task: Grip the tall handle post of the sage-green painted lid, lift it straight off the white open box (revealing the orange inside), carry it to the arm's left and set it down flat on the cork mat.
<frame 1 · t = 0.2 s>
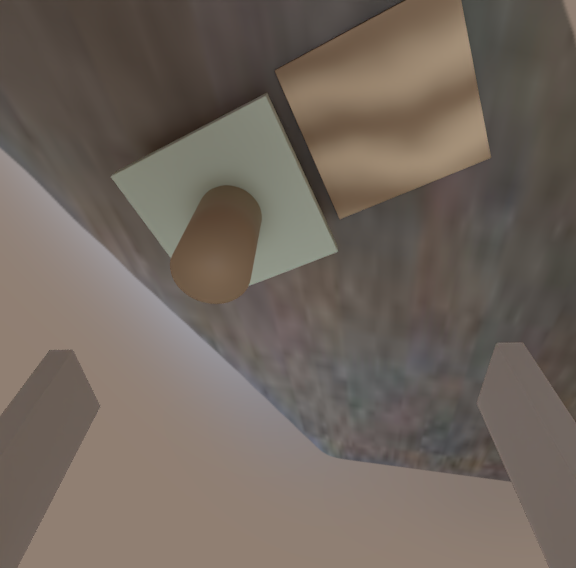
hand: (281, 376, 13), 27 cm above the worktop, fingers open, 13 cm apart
lid: (232, 209, 32), point 6 cm above the worktop, touching white open box
mat: (387, 114, 33), on the worktop
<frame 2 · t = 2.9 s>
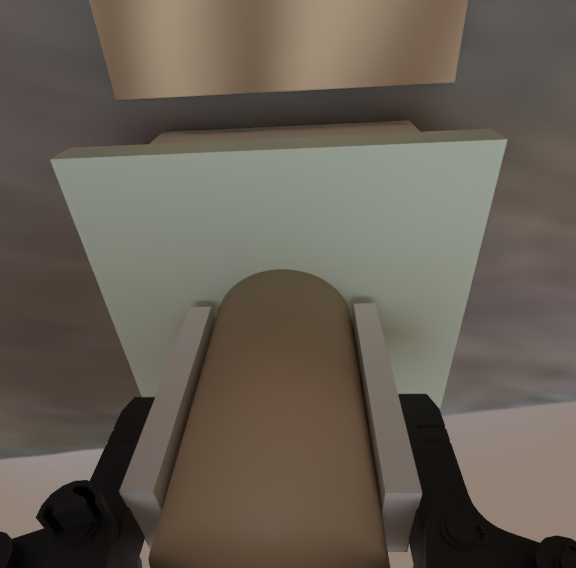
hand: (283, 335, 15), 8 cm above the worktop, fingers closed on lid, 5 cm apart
white open box: (289, 236, 21), on the worktop
lid: (285, 306, 16), point 6 cm above the worktop, touching white open box, gripper
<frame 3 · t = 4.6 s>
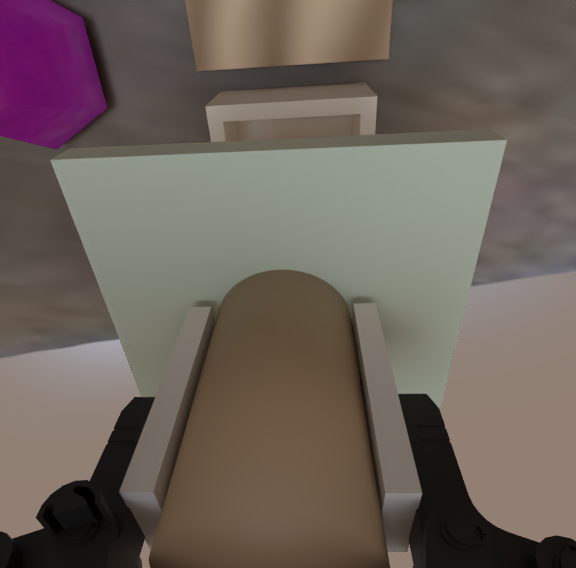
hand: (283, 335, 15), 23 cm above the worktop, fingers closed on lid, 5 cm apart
white open box: (296, 158, 34), on the worktop
lid: (285, 306, 16), point 21 cm above the worktop, touching gripper
magenta low-poly plum: (41, 65, 30), on the worktop
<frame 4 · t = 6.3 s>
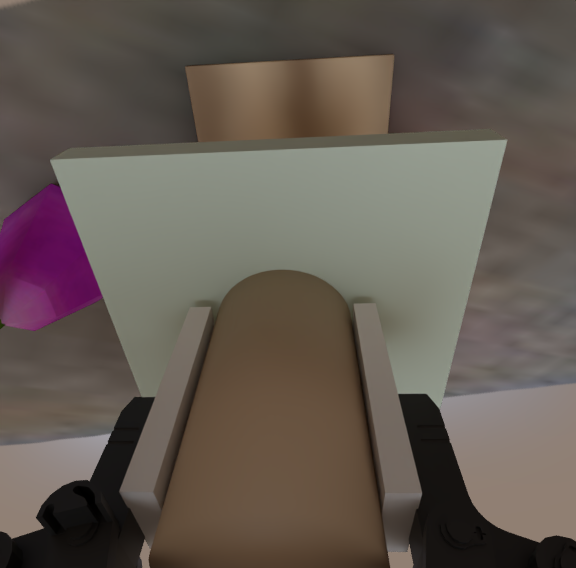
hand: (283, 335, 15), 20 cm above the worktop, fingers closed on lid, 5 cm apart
lid: (285, 306, 16), point 18 cm above the worktop, touching gripper
magenta low-poly plum: (84, 237, 36), on the worktop
mat: (293, 162, 31), on the worktop
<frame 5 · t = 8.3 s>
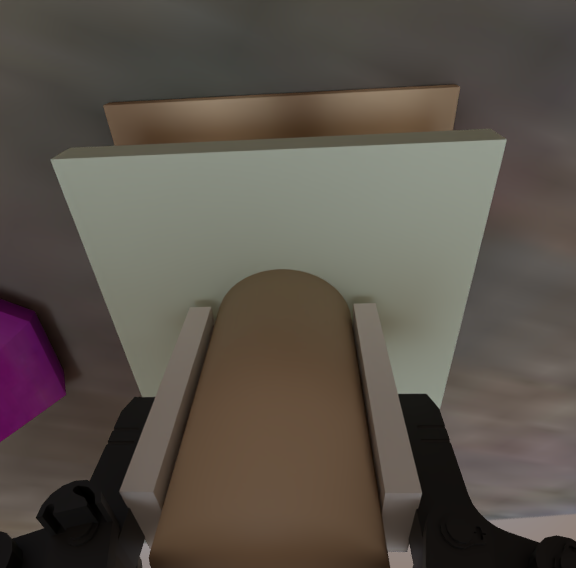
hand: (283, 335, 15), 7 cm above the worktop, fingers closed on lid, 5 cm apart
lid: (285, 305, 16), point 5 cm above the worktop, touching gripper
mat: (287, 246, 20), on the worktop
when the fingers open (4 cm above the worktop, at t = 9.7 s): lid drops 2 cm, resting on mat.
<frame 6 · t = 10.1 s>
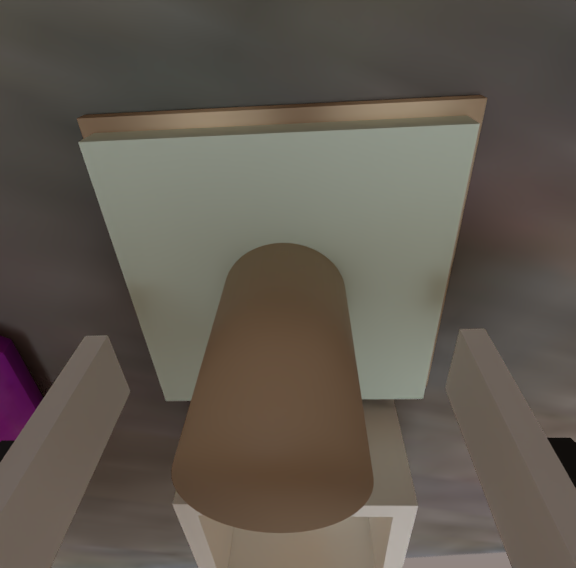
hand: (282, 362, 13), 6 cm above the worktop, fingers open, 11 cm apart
white open box: (298, 454, 26), on the worktop
lid: (285, 279, 18), point 1 cm above the worktop, touching mat
mat: (287, 272, 18), on the worktop
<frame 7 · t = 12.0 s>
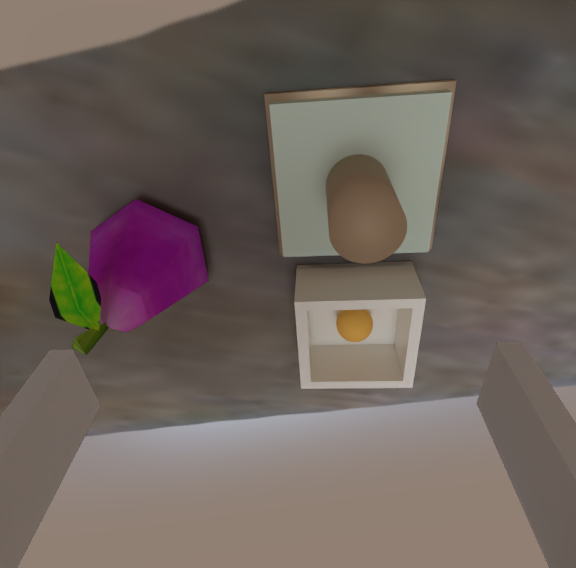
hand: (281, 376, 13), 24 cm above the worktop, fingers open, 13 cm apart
orange: (354, 323, 40), point 3 cm above the worktop, touching white open box
white open box: (352, 307, 42), on the worktop
lid: (355, 180, 33), point 1 cm above the worktop, touching mat
magenta low-poly plum: (157, 246, 39), on the worktop
mat: (355, 177, 34), on the worktop
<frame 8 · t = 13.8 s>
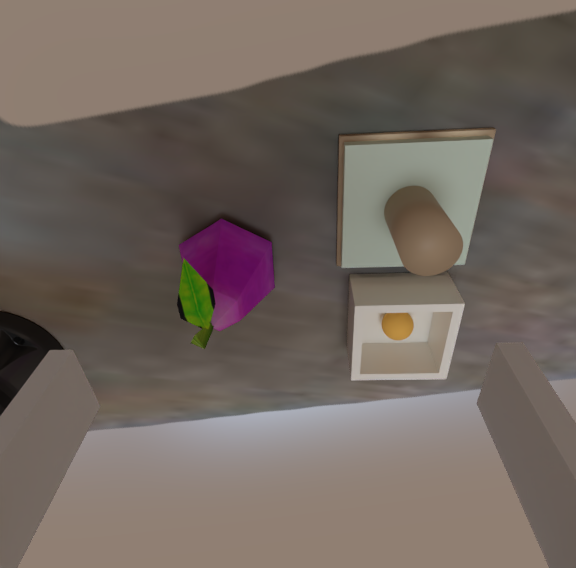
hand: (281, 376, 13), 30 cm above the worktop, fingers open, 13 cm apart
orange: (397, 324, 46), point 3 cm above the worktop, touching white open box
white open box: (393, 310, 49), on the worktop
lid: (407, 205, 40), point 1 cm above the worktop, touching mat
magenta low-poly plum: (230, 257, 45), on the worktop
mat: (406, 202, 41), on the worktop
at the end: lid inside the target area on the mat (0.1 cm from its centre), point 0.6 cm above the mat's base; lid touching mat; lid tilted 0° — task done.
